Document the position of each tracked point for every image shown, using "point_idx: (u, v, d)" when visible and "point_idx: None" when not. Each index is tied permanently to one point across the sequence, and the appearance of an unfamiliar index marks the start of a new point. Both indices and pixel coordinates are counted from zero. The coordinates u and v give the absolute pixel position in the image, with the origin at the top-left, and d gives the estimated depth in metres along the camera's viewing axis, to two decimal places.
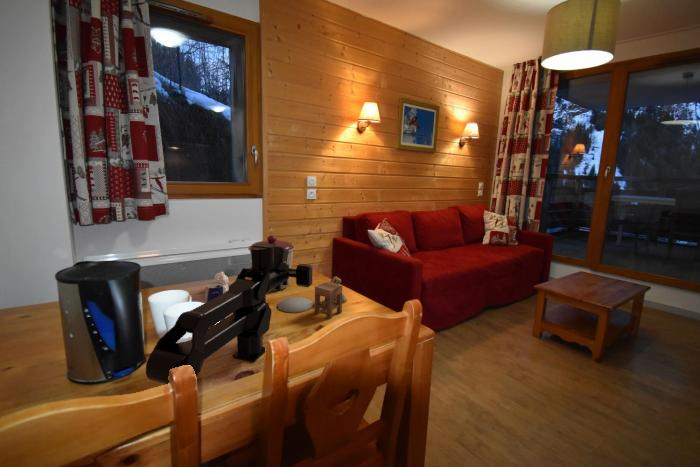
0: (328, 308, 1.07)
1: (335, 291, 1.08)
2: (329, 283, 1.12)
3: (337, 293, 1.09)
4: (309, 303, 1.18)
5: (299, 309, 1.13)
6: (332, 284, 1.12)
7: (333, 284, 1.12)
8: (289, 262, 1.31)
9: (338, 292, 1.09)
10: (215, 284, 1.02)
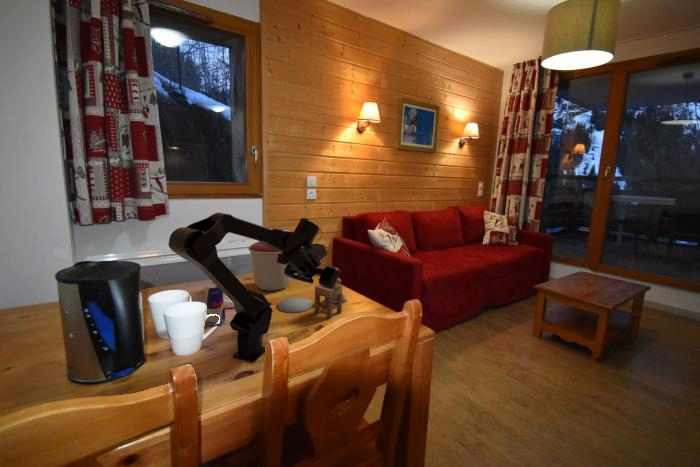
0: (328, 308, 1.07)
1: (335, 291, 1.08)
2: None
3: (337, 293, 1.09)
4: (309, 303, 1.18)
5: (299, 309, 1.13)
6: None
7: None
8: None
9: (338, 292, 1.09)
10: (215, 284, 1.02)
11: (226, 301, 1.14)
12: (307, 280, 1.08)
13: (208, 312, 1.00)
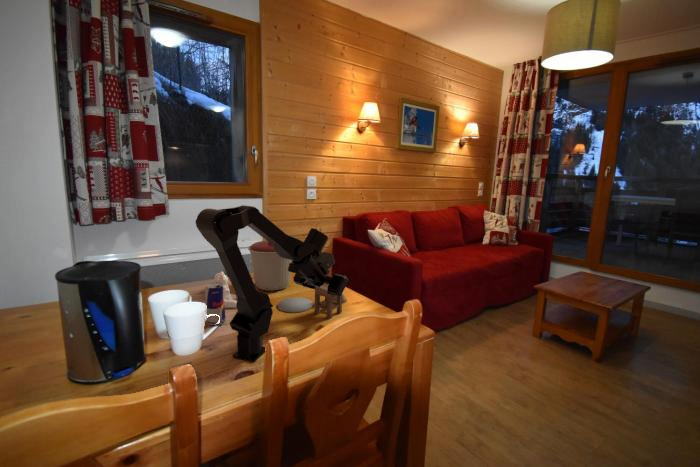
0: (328, 308, 1.07)
1: None
2: None
3: None
4: (309, 303, 1.18)
5: (299, 309, 1.13)
6: None
7: None
8: (289, 262, 1.31)
9: None
10: (215, 284, 1.02)
11: (226, 301, 1.14)
12: None
13: (208, 312, 1.00)
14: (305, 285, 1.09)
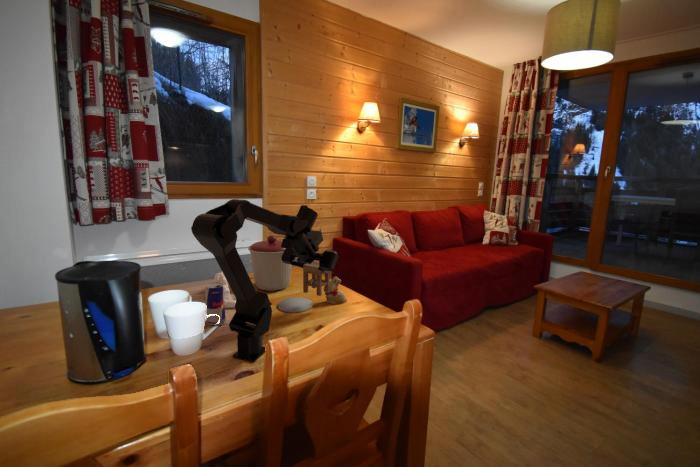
0: (318, 285, 1.09)
1: None
2: (316, 261, 1.14)
3: None
4: (309, 303, 1.18)
5: (299, 309, 1.13)
6: None
7: None
8: None
9: None
10: (215, 284, 1.02)
11: (226, 301, 1.14)
12: None
13: (208, 312, 1.00)
14: (293, 264, 1.09)
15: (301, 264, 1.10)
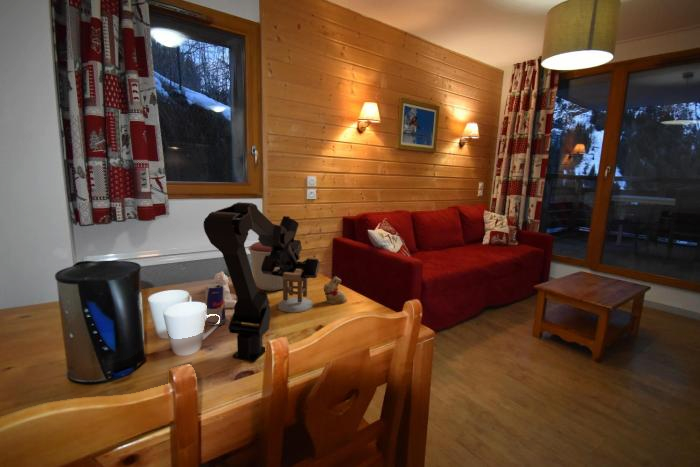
0: (299, 292, 1.13)
1: None
2: None
3: None
4: (309, 303, 1.18)
5: (299, 309, 1.13)
6: (297, 270, 1.17)
7: (298, 270, 1.17)
8: None
9: None
10: (215, 284, 1.02)
11: (226, 301, 1.14)
12: None
13: (208, 312, 1.00)
14: (274, 273, 1.11)
15: (281, 273, 1.12)
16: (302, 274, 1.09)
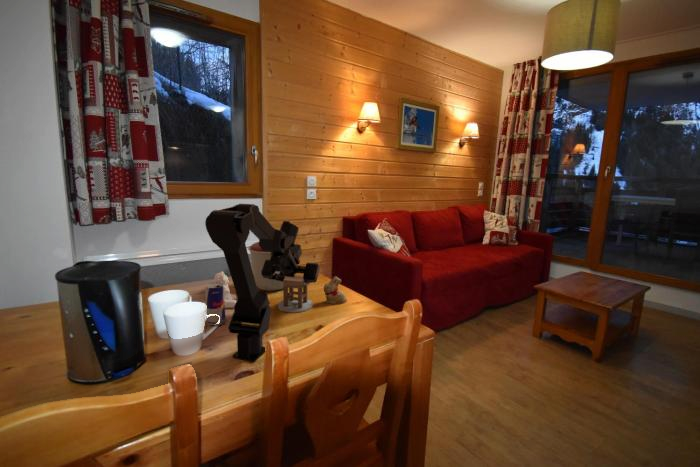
0: (299, 298, 1.13)
1: None
2: None
3: (305, 283, 1.16)
4: (309, 303, 1.18)
5: (299, 309, 1.13)
6: (297, 276, 1.17)
7: (298, 276, 1.18)
8: None
9: None
10: (215, 284, 1.02)
11: (226, 301, 1.14)
12: (281, 279, 1.15)
13: (208, 312, 1.00)
14: None
15: (278, 277, 1.13)
16: None
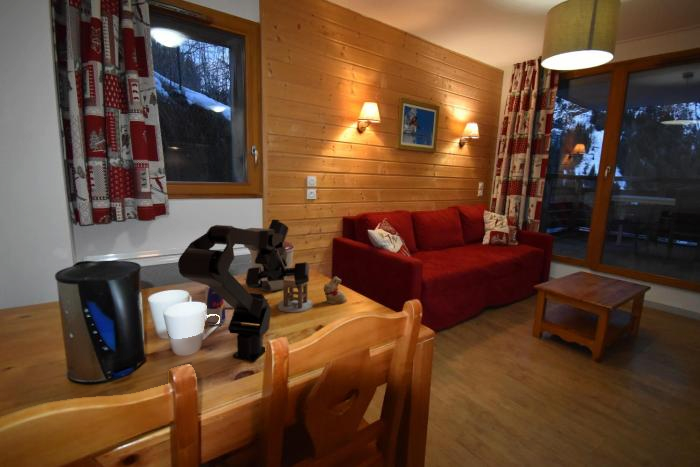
0: (299, 298, 1.13)
1: None
2: None
3: (305, 283, 1.16)
4: (309, 303, 1.18)
5: (299, 309, 1.13)
6: None
7: None
8: (289, 262, 1.31)
9: None
10: None
11: None
12: (268, 288, 1.05)
13: (208, 312, 1.00)
14: None
15: (264, 285, 1.03)
16: None
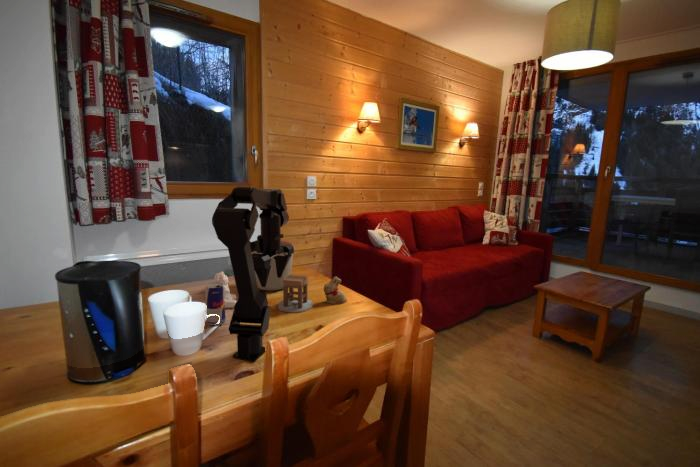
0: (299, 298, 1.13)
1: (304, 281, 1.15)
2: (294, 275, 1.18)
3: (305, 283, 1.16)
4: (309, 303, 1.18)
5: (299, 309, 1.13)
6: (297, 276, 1.17)
7: (298, 276, 1.18)
8: (289, 262, 1.31)
9: (305, 282, 1.16)
10: (215, 284, 1.02)
11: (226, 301, 1.14)
12: None
13: (208, 312, 1.00)
14: (267, 266, 0.94)
15: None
16: (285, 256, 1.05)
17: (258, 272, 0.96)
